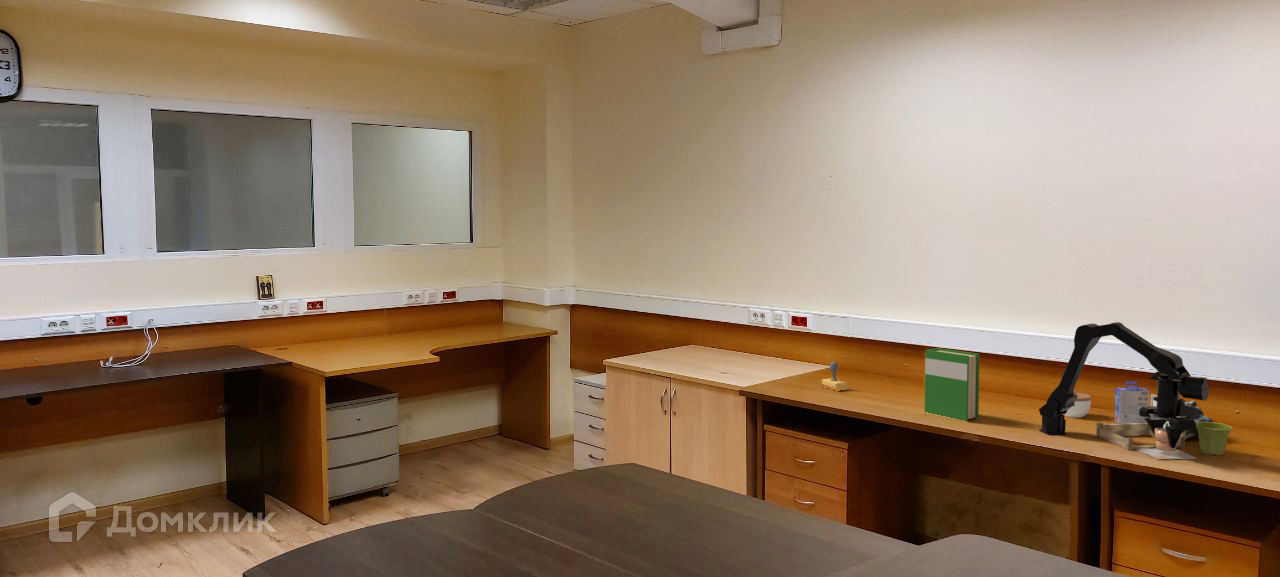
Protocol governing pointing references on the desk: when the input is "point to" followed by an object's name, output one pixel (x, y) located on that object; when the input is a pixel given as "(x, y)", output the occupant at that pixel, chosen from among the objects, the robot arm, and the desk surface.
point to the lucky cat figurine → (1196, 418)
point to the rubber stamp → (834, 378)
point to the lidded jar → (1079, 406)
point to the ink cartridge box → (1130, 403)
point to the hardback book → (952, 383)
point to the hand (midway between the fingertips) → (1165, 445)
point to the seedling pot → (1162, 439)
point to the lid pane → (1154, 403)
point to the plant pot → (1213, 437)
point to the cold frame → (1128, 434)
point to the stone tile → (1166, 454)
